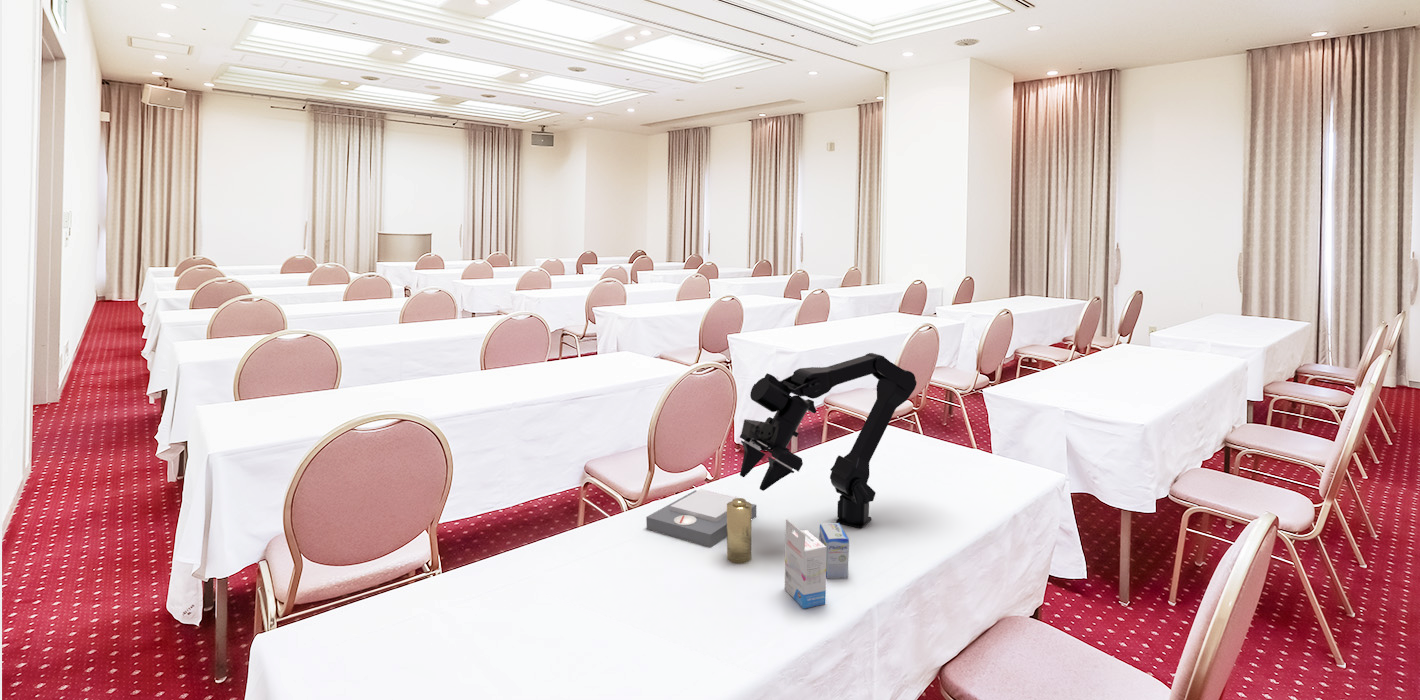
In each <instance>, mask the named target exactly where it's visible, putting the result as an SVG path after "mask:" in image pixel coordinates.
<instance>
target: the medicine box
mask: <svg viewBox="0 0 1420 700" xmlns="http://www.w3.org/2000/svg"><path fill="white" fill-rule="evenodd" d="M818 534H819V537H818V540H819V541H820V542H821V543H823V544H824V545H825V546H826V547H827V554H826V579H830V580H831V579H847V578H848V577H849V559H850V558H849V557H850V555H849V552H850V539H849V537H848V536H847V534H846V533H845V530H844V529H843V528H842V524H841V523H837V522H825V523H824V522H822V523H819V531H818Z"/></svg>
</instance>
